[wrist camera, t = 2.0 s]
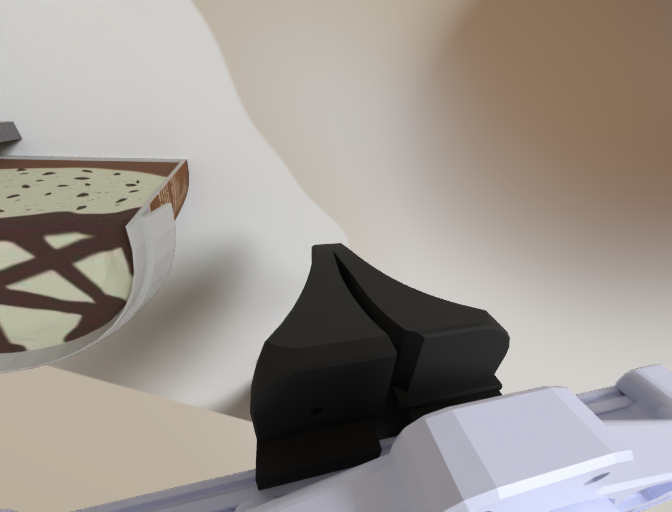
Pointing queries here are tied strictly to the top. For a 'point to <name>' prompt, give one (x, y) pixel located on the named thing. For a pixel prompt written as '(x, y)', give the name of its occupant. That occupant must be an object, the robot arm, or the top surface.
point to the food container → (81, 249)
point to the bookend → (8, 132)
